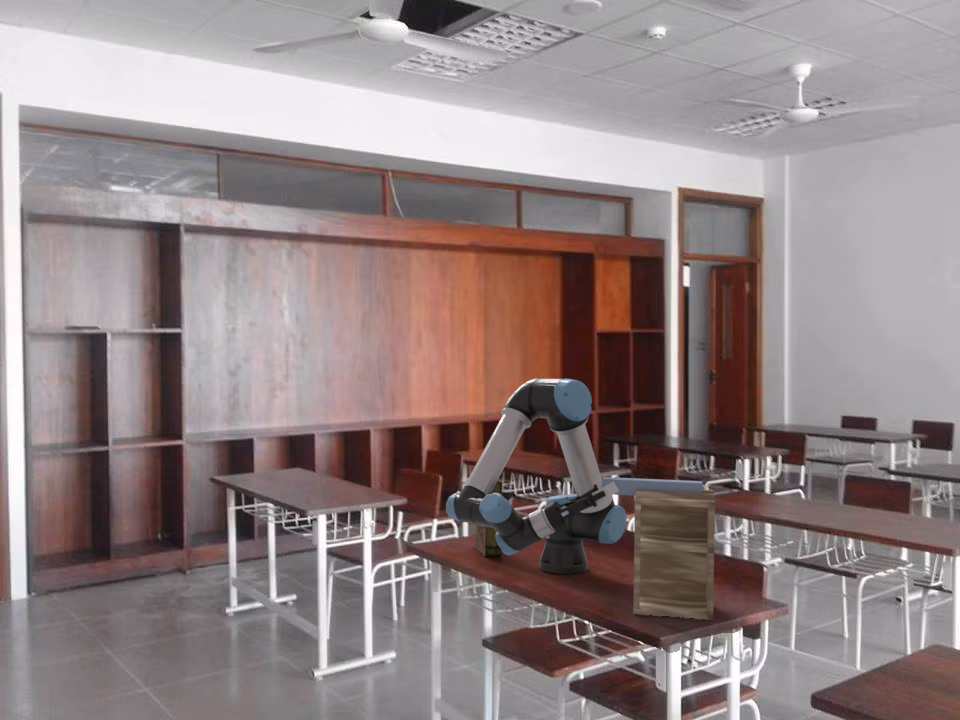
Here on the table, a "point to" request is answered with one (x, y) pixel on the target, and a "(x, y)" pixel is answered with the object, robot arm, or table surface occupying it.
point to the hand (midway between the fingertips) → (618, 482)
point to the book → (488, 533)
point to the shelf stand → (674, 554)
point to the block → (652, 485)
